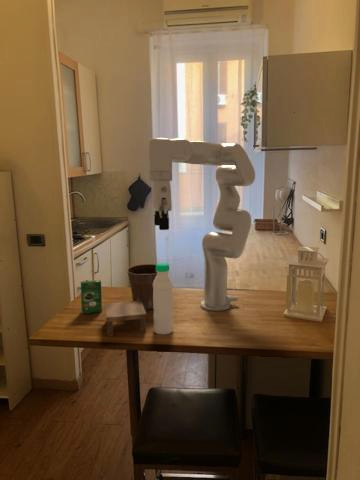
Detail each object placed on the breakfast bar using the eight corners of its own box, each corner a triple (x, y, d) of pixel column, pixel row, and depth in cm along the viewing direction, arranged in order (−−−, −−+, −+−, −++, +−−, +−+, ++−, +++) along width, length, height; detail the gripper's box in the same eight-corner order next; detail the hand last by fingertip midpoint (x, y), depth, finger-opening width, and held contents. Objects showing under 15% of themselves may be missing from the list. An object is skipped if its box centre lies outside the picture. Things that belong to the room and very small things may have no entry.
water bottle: (154, 326, 141) (153, 261, 136) (173, 327, 141) (173, 261, 136) (152, 335, 134) (151, 266, 130) (172, 335, 134) (171, 266, 129)
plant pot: (121, 310, 158) (120, 272, 155) (137, 297, 173) (136, 262, 170) (158, 314, 153) (157, 275, 150) (171, 300, 168) (170, 265, 165)
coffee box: (101, 309, 159) (100, 279, 156) (102, 311, 156) (101, 281, 154) (81, 312, 156) (79, 281, 154) (82, 314, 153) (80, 283, 151)
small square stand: (141, 317, 150) (141, 300, 149) (146, 332, 137) (146, 313, 136) (105, 320, 147) (104, 303, 146) (107, 336, 134) (106, 317, 132)
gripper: (177, 177, 119) (177, 231, 123) (166, 175, 136) (167, 223, 139) (153, 177, 118) (154, 232, 121) (145, 176, 134) (146, 224, 138)
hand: (161, 227), depth 130 cm, fingers open, 9 cm apart
